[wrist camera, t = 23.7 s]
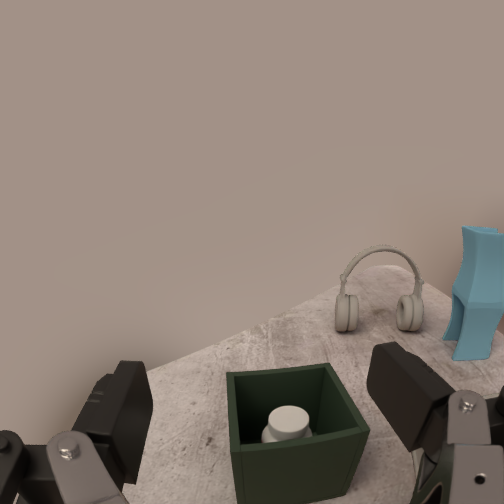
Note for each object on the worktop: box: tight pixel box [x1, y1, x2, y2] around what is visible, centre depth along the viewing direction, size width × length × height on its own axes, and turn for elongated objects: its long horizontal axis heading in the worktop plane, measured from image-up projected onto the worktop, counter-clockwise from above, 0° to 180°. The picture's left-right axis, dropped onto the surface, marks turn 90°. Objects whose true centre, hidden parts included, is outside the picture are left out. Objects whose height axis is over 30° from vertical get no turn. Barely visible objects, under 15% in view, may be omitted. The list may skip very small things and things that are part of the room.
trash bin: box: [226, 363, 370, 504], centre depth 26 cm, size 12×12×12 cm
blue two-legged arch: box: [442, 226, 504, 361], centre depth 44 cm, size 10×10×25 cm
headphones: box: [335, 245, 424, 331], centre depth 59 cm, size 20×8×19 cm, turn 77°
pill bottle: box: [261, 406, 312, 443], centre depth 26 cm, size 5×5×9 cm
